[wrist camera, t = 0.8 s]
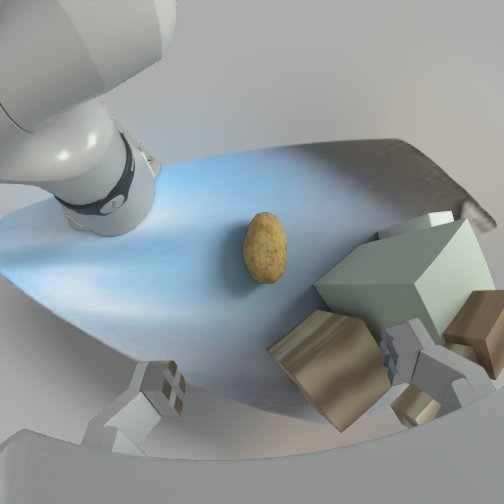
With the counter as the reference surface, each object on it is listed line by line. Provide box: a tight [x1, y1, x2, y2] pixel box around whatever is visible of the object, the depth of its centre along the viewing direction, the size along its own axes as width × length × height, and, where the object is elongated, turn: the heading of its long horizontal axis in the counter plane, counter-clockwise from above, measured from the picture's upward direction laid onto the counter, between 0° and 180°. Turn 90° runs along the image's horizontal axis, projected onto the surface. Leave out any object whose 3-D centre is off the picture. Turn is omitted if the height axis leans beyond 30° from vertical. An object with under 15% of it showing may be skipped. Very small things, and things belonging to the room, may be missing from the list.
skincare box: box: [378, 211, 454, 240], centre depth 46 cm, size 8×7×16 cm
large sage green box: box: [313, 218, 496, 384], centre depth 38 cm, size 20×12×26 cm, turn 36°
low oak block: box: [267, 310, 392, 433], centre depth 41 cm, size 12×11×15 cm
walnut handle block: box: [390, 290, 504, 428], centre depth 21 cm, size 6×16×6 cm, turn 126°
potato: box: [243, 212, 287, 284], centre depth 46 cm, size 7×11×6 cm, turn 176°
